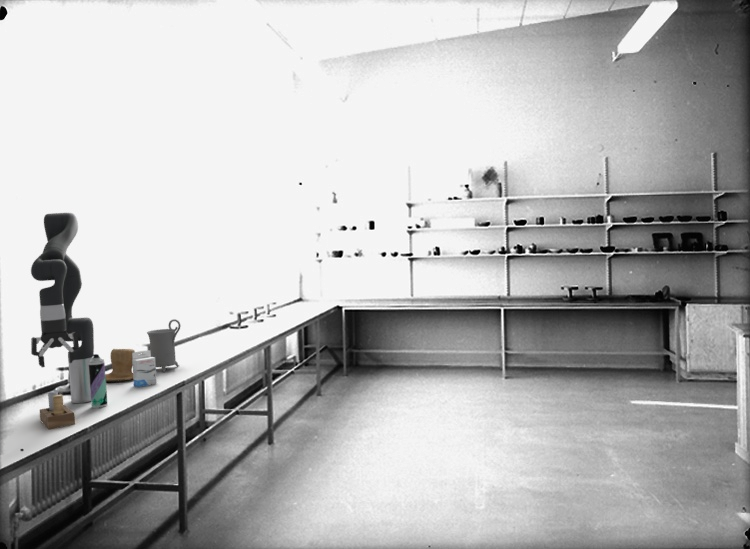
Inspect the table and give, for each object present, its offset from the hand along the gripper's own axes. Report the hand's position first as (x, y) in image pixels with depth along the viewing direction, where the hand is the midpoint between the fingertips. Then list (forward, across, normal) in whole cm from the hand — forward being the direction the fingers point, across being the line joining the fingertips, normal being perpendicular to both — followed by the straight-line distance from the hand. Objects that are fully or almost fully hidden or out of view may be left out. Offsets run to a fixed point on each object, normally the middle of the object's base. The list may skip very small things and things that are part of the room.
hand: (56, 364), depth 203 cm
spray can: (+21, -16, -16) cm, 31 cm away
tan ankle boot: (+22, -36, -60) cm, 73 cm away
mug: (+22, -60, -68) cm, 93 cm away
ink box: (+21, -41, -40) cm, 61 cm away
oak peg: (+21, +1, +1) cm, 21 cm away
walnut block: (+21, +1, -3) cm, 21 cm away
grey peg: (+21, +1, -7) cm, 22 cm away
